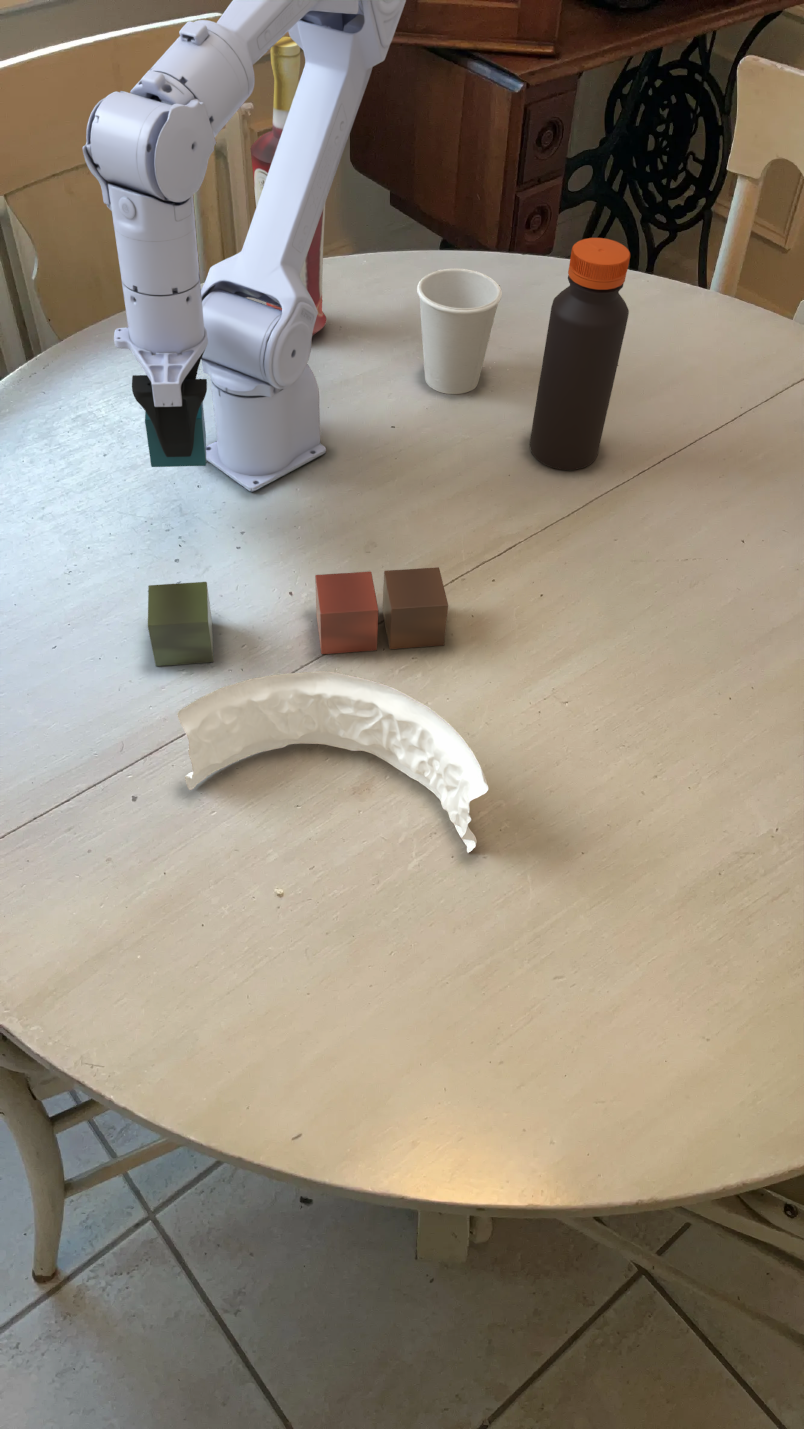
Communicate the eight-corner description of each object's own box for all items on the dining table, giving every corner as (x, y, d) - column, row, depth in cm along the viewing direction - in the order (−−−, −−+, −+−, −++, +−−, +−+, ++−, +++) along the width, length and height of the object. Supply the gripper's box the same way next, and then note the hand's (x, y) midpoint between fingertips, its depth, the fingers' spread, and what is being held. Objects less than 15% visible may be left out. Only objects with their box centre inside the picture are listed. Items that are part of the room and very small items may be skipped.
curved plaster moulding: (481, 856, 72) (490, 777, 66) (186, 884, 70) (168, 805, 64) (454, 736, 80) (460, 655, 74) (189, 758, 78) (173, 677, 72)
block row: (435, 607, 88) (439, 566, 85) (444, 645, 85) (448, 605, 82) (156, 626, 85) (148, 584, 82) (155, 666, 82) (147, 625, 79)
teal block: (205, 435, 91) (201, 388, 87) (206, 466, 88) (201, 418, 84) (152, 436, 90) (146, 389, 87) (151, 467, 87) (144, 419, 84)
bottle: (519, 460, 102) (550, 259, 87) (540, 423, 106) (573, 225, 91) (587, 479, 100) (630, 277, 85) (605, 441, 105) (650, 242, 89)
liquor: (342, 330, 116) (342, 43, 95) (295, 355, 112) (284, 62, 91) (295, 306, 119) (285, 22, 98) (247, 329, 115) (226, 39, 94)
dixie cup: (449, 348, 114) (456, 259, 107) (507, 380, 111) (519, 290, 103) (395, 377, 110) (399, 286, 103) (454, 411, 107) (462, 319, 99)
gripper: (110, 234, 82) (133, 390, 92) (99, 327, 73) (126, 489, 83) (202, 234, 83) (214, 389, 93) (203, 326, 73) (217, 487, 84)
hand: (178, 436), depth 88 cm, fingers closed on teal block, 4 cm apart
